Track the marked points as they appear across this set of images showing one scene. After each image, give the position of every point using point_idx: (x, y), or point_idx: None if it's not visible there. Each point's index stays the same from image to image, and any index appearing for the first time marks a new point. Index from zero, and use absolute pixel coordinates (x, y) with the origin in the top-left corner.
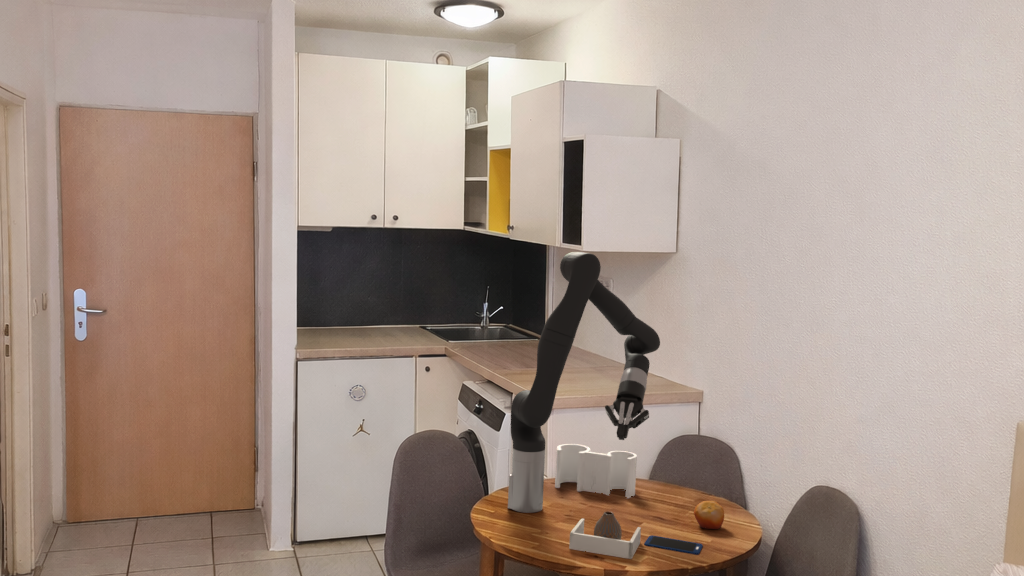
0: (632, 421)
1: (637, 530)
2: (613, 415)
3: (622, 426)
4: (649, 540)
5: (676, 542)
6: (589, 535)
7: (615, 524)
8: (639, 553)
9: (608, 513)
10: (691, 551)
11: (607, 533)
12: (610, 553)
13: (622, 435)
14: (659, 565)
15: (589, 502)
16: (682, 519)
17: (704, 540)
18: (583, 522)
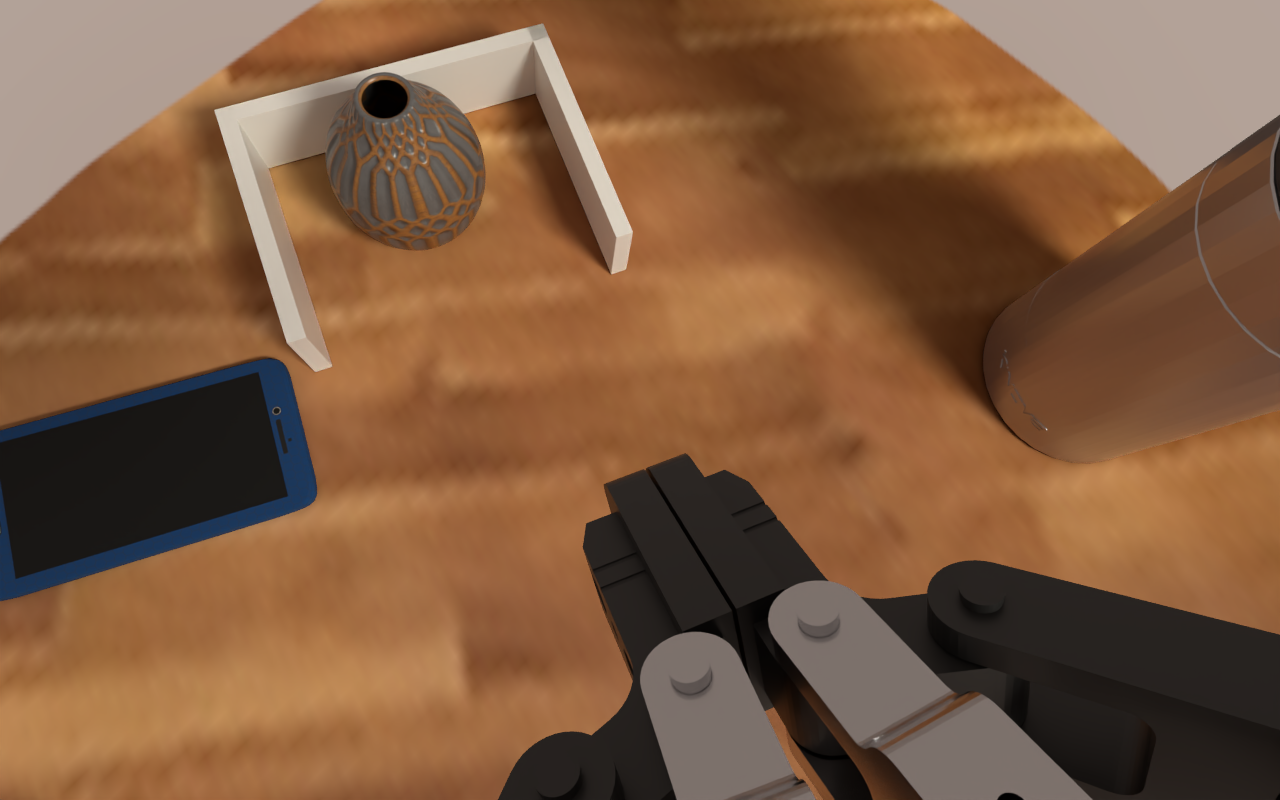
0: (588, 775)
1: (279, 285)
2: (1104, 650)
3: (720, 576)
4: (278, 420)
5: (132, 505)
6: (449, 57)
7: (336, 118)
8: (249, 246)
9: (405, 132)
10: (3, 440)
11: (368, 97)
12: None
13: (621, 478)
14: (98, 183)
15: None
16: None
17: (5, 695)
18: (608, 227)
